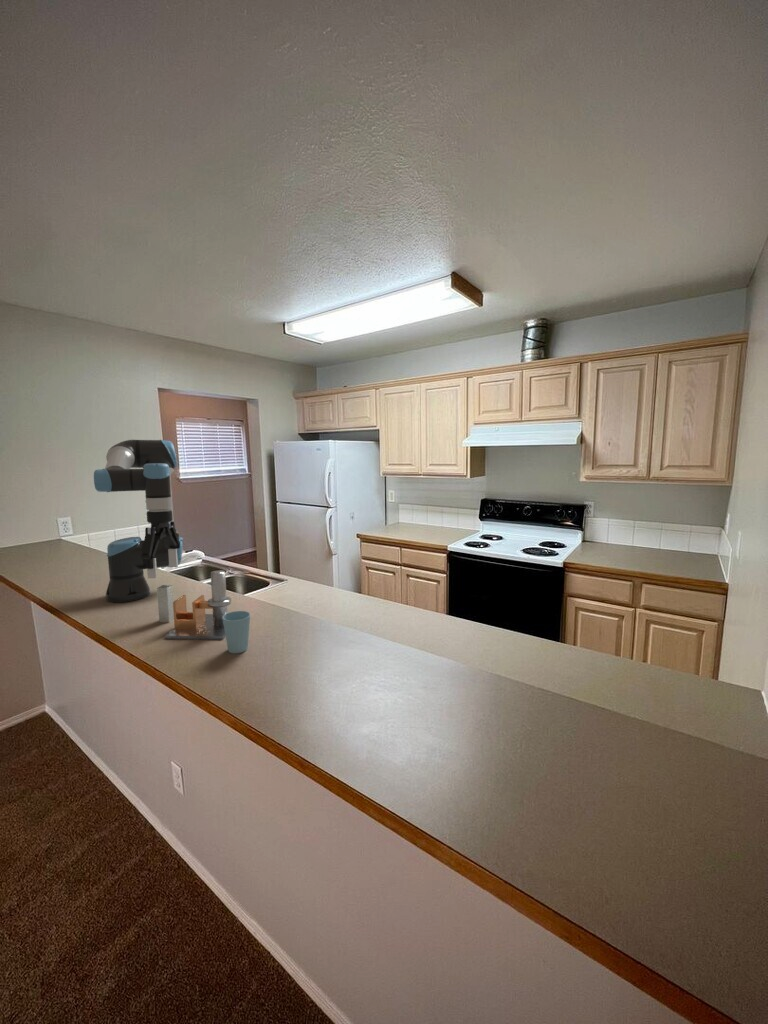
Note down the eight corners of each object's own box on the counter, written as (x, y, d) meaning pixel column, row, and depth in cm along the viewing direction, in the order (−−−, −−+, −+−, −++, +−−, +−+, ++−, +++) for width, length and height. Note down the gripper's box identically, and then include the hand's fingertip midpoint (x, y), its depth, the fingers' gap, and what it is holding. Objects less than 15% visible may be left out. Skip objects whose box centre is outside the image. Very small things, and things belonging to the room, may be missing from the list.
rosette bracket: (191, 616, 150) (188, 564, 147) (242, 617, 150) (240, 564, 147) (165, 638, 132) (161, 579, 130) (222, 639, 132) (219, 580, 129)
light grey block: (164, 618, 148) (162, 585, 147) (174, 618, 148) (172, 585, 147) (159, 622, 145) (157, 588, 143) (169, 622, 145) (167, 588, 143)
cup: (248, 641, 131) (247, 608, 129) (254, 651, 124) (252, 617, 123) (222, 647, 127) (220, 613, 126) (227, 657, 120) (225, 622, 119)
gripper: (167, 505, 154) (171, 563, 157) (124, 515, 129) (130, 583, 132) (188, 505, 154) (191, 563, 156) (149, 515, 129) (154, 583, 132)
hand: (163, 572), depth 144 cm, fingers open, 13 cm apart
